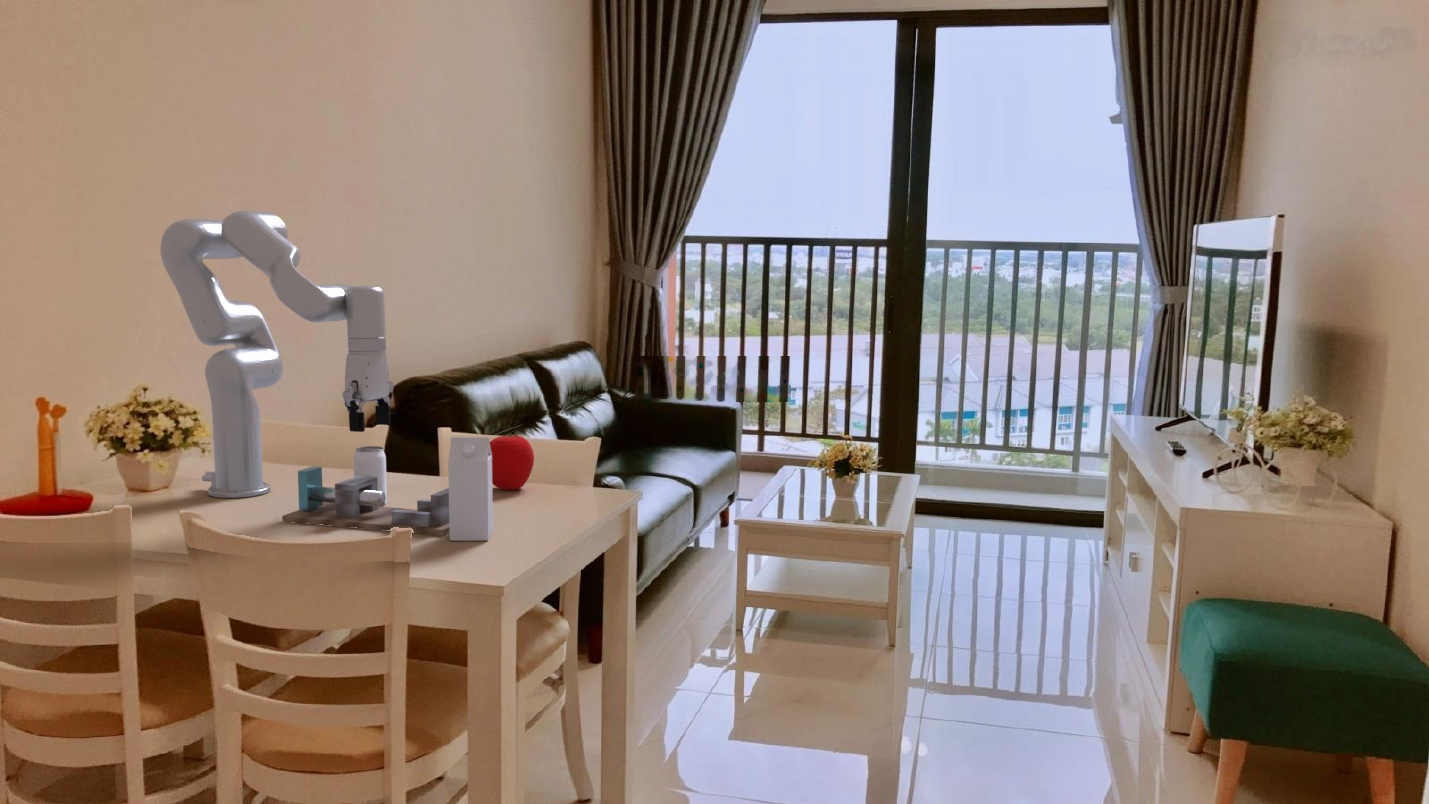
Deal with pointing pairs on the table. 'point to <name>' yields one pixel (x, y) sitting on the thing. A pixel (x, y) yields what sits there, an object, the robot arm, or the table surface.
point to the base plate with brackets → (377, 511)
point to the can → (371, 465)
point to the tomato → (511, 461)
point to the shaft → (328, 491)
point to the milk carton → (470, 489)
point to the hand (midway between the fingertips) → (370, 427)
